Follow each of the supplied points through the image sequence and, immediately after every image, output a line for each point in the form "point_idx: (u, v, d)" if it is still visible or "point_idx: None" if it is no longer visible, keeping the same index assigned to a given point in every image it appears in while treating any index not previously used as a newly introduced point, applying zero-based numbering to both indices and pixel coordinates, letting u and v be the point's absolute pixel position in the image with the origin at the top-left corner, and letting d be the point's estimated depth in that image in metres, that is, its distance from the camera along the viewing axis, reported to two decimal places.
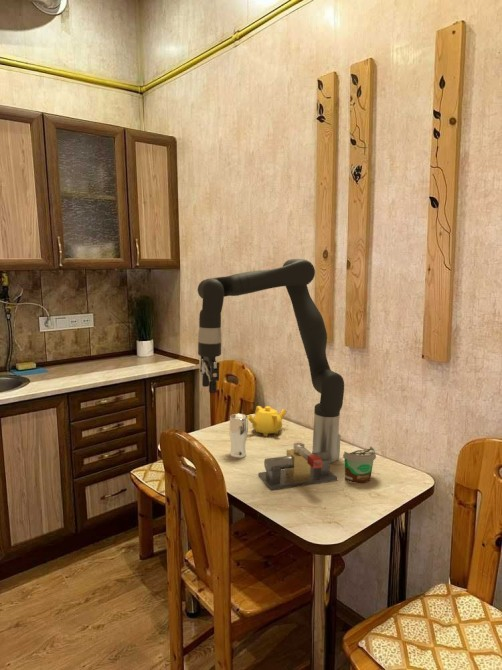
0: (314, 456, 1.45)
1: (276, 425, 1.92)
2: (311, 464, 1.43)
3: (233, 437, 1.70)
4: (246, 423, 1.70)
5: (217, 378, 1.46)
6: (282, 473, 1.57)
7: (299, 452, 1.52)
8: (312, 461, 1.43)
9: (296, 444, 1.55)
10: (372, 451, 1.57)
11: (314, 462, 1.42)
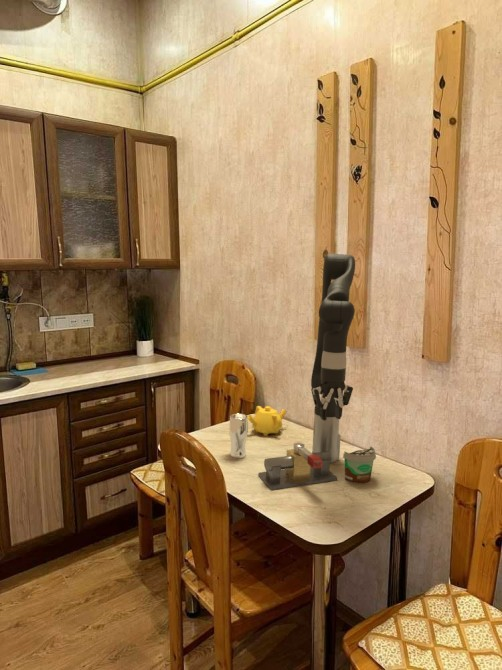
0: (314, 456, 1.45)
1: (276, 425, 1.92)
2: (311, 464, 1.43)
3: (233, 437, 1.70)
4: (246, 423, 1.70)
5: None
6: (282, 473, 1.57)
7: (299, 452, 1.52)
8: (312, 461, 1.43)
9: (296, 444, 1.55)
10: (372, 451, 1.57)
11: (314, 462, 1.42)
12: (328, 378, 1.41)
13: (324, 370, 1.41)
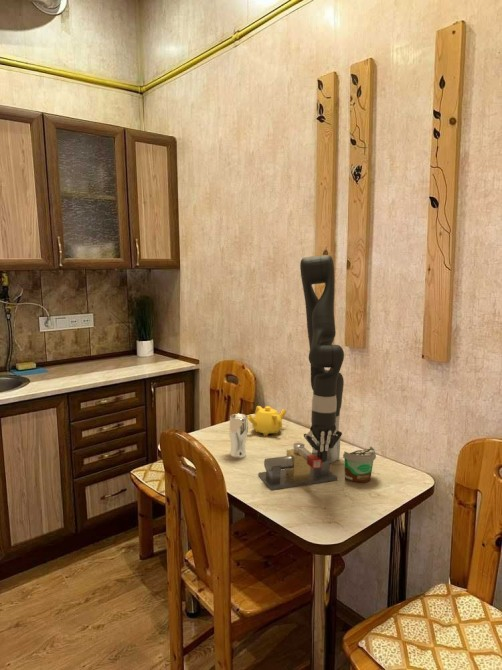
0: (313, 456, 1.45)
1: (276, 425, 1.92)
2: (311, 464, 1.43)
3: (233, 437, 1.70)
4: (246, 423, 1.70)
5: None
6: (282, 473, 1.57)
7: (299, 452, 1.52)
8: (311, 461, 1.43)
9: (296, 444, 1.55)
10: (372, 451, 1.57)
11: (313, 462, 1.42)
12: (318, 421, 1.41)
13: (314, 413, 1.42)
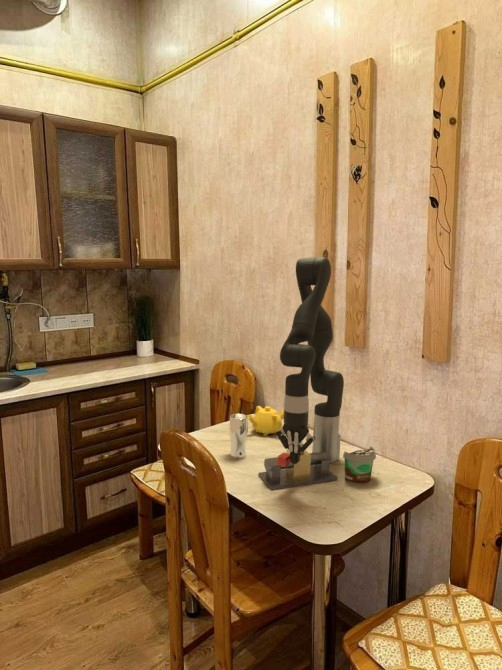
0: (286, 454, 1.46)
1: (276, 425, 1.92)
2: None
3: (233, 437, 1.70)
4: (246, 423, 1.70)
5: (305, 449, 1.43)
6: (282, 473, 1.57)
7: None
8: None
9: None
10: (372, 451, 1.57)
11: (278, 458, 1.44)
12: None
13: None
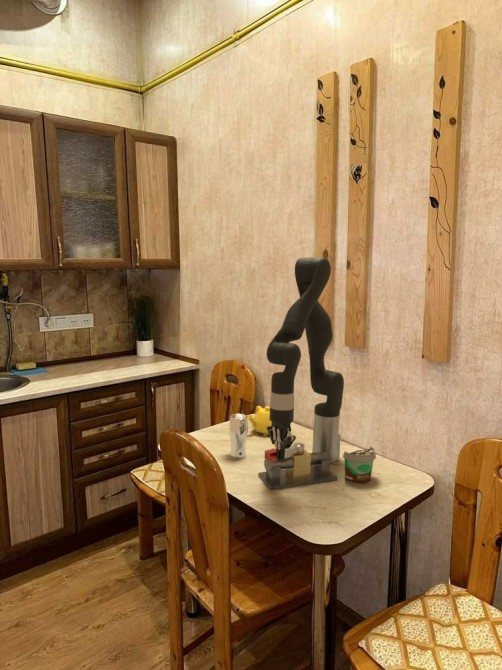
0: (274, 450, 1.49)
1: None
2: None
3: (233, 437, 1.70)
4: (246, 423, 1.70)
5: (288, 447, 1.44)
6: (282, 473, 1.57)
7: None
8: None
9: (299, 443, 1.55)
10: (372, 451, 1.57)
11: (265, 452, 1.48)
12: None
13: None
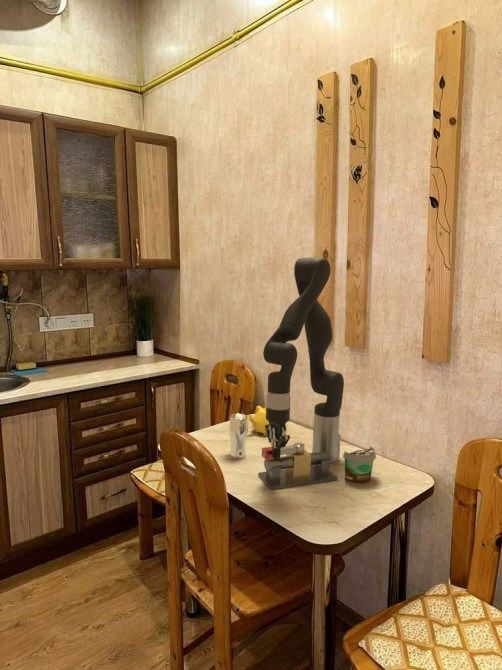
0: (271, 448, 1.50)
1: None
2: None
3: (233, 437, 1.70)
4: (246, 423, 1.70)
5: (283, 446, 1.45)
6: (282, 473, 1.57)
7: None
8: None
9: (299, 443, 1.55)
10: (372, 451, 1.57)
11: (262, 449, 1.51)
12: None
13: None
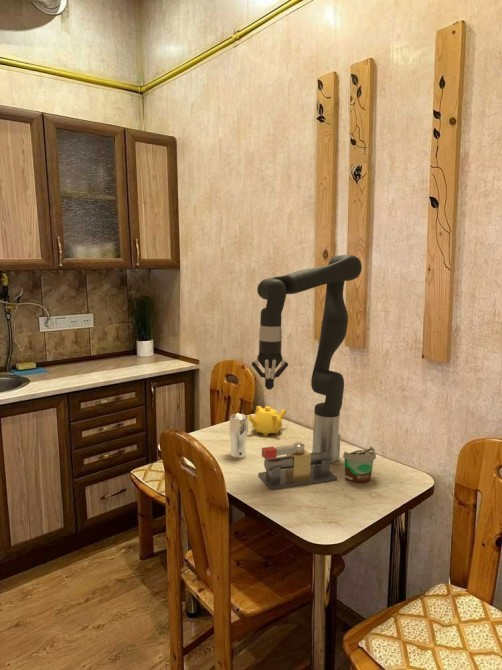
0: (271, 448, 1.50)
1: (276, 425, 1.92)
2: None
3: (233, 437, 1.70)
4: (246, 423, 1.70)
5: None
6: (282, 473, 1.57)
7: None
8: None
9: (299, 443, 1.55)
10: (372, 451, 1.57)
11: (262, 449, 1.51)
12: (262, 349, 1.54)
13: (259, 342, 1.55)
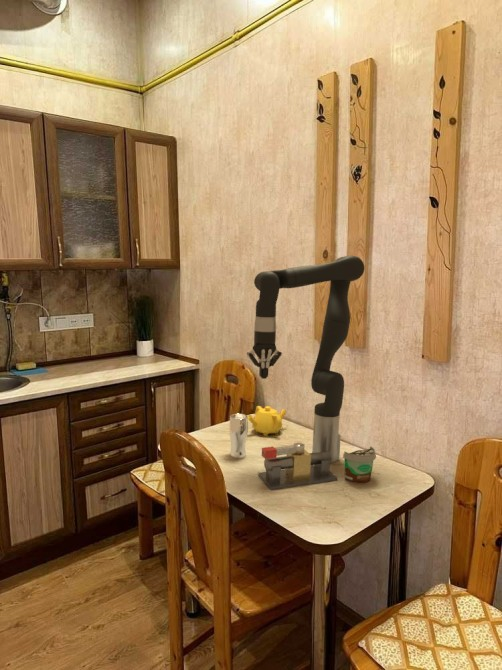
0: (271, 448, 1.50)
1: (276, 425, 1.92)
2: None
3: (233, 437, 1.70)
4: (246, 423, 1.70)
5: None
6: (282, 473, 1.57)
7: None
8: None
9: (299, 443, 1.55)
10: (372, 451, 1.57)
11: (262, 449, 1.51)
12: (259, 340, 1.59)
13: (256, 333, 1.60)
